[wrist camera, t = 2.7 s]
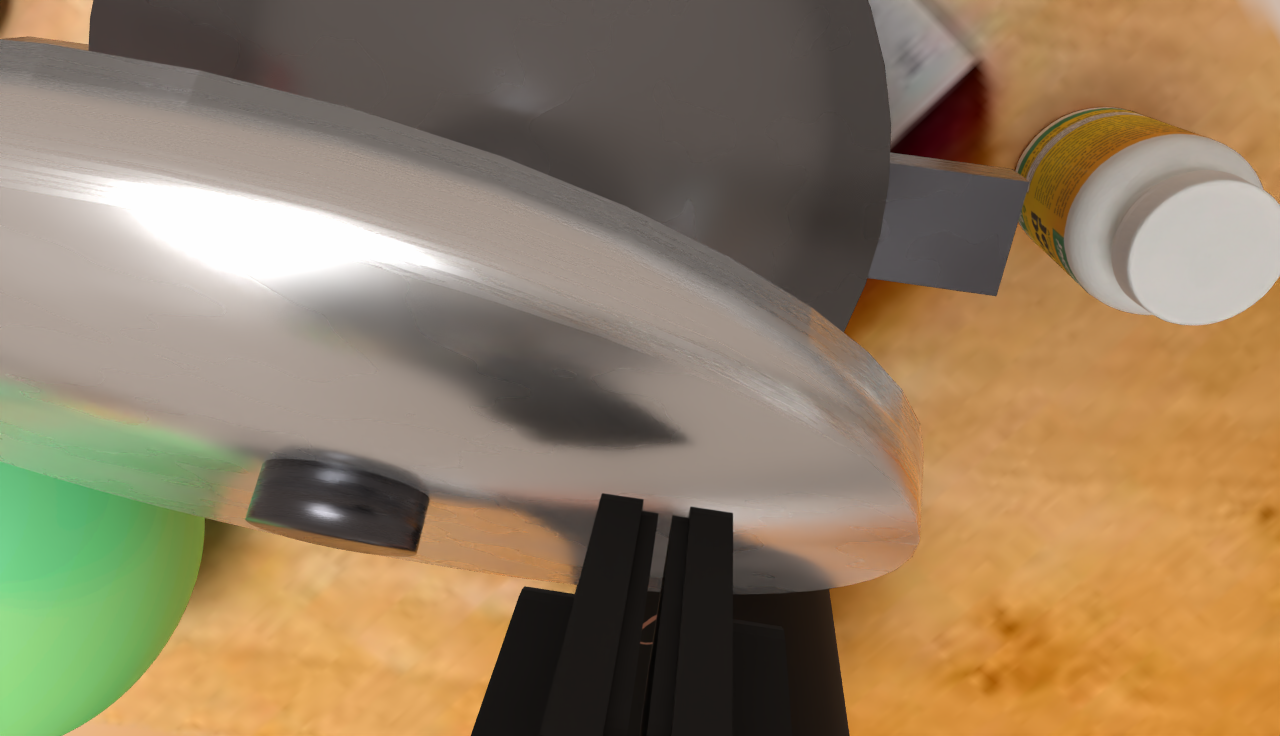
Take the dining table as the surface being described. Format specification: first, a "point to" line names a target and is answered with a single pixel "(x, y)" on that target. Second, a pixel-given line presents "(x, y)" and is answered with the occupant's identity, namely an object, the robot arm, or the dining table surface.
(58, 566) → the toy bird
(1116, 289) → the supplement bottle
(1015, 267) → the dining table surface
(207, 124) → the lid
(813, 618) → the coffee jar
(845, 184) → the pot
